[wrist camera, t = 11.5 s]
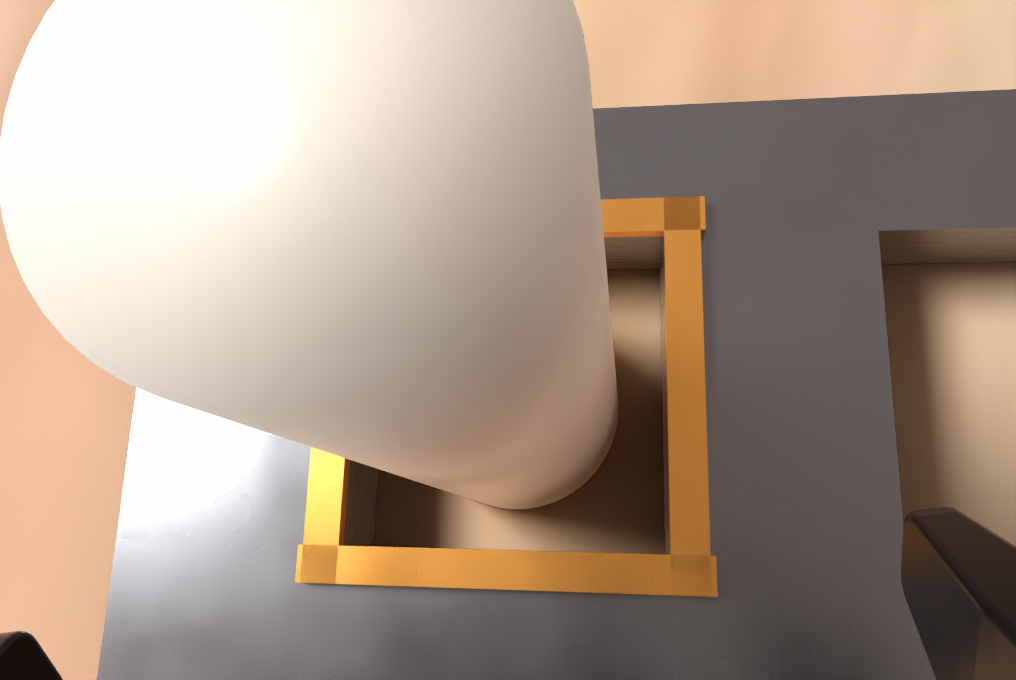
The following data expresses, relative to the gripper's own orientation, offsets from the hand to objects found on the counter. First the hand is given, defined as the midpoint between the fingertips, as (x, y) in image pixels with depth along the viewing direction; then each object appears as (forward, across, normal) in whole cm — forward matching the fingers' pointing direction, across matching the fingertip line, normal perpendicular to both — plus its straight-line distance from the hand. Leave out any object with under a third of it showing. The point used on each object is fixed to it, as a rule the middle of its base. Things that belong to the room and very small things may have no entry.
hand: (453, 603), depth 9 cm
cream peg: (+9, 0, +4) cm, 10 cm away
